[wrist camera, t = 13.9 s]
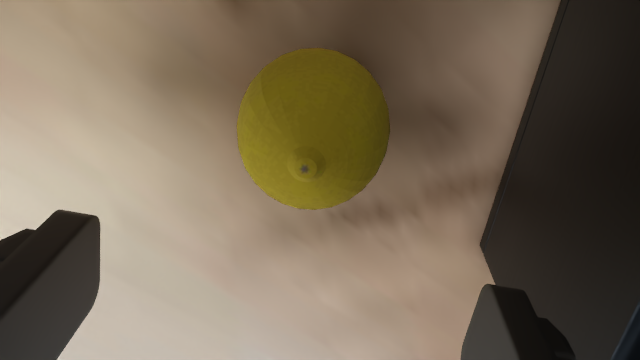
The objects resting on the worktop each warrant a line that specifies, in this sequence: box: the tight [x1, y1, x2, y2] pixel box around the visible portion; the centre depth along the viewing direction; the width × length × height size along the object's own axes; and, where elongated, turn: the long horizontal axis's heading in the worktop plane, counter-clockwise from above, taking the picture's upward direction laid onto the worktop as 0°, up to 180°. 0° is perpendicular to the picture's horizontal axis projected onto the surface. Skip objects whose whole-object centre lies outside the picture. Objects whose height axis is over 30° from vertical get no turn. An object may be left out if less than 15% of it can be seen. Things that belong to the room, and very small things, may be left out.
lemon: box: [237, 48, 390, 210], centre depth 21 cm, size 6×6×8 cm
